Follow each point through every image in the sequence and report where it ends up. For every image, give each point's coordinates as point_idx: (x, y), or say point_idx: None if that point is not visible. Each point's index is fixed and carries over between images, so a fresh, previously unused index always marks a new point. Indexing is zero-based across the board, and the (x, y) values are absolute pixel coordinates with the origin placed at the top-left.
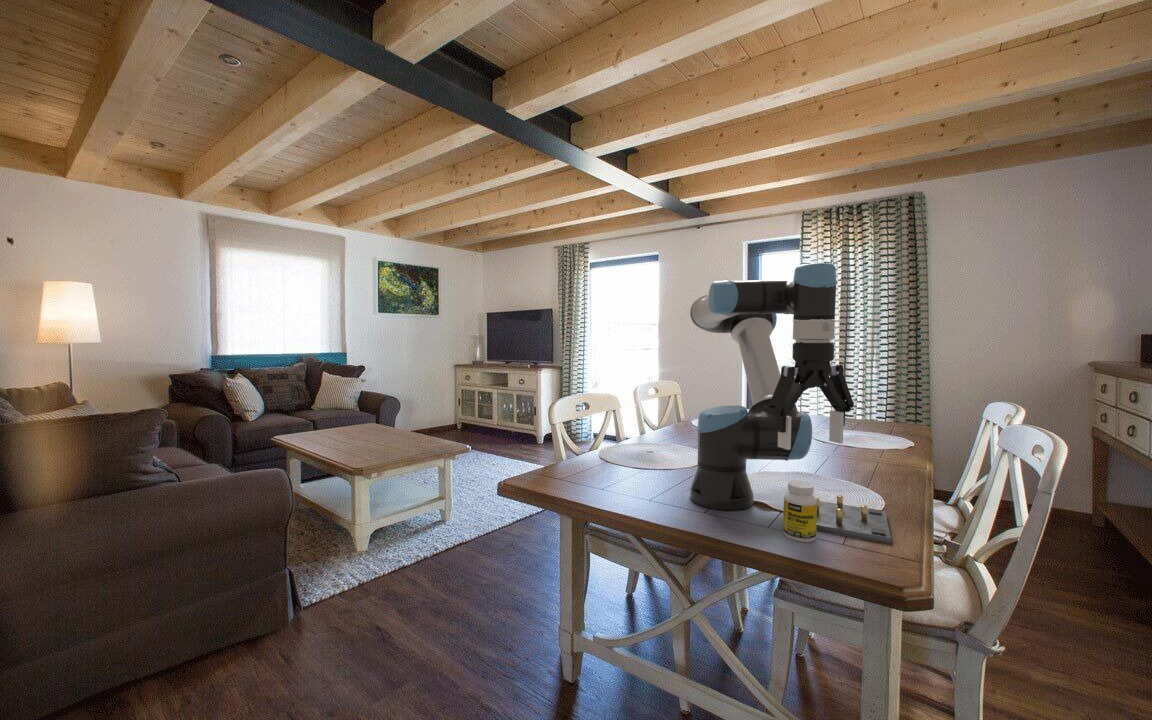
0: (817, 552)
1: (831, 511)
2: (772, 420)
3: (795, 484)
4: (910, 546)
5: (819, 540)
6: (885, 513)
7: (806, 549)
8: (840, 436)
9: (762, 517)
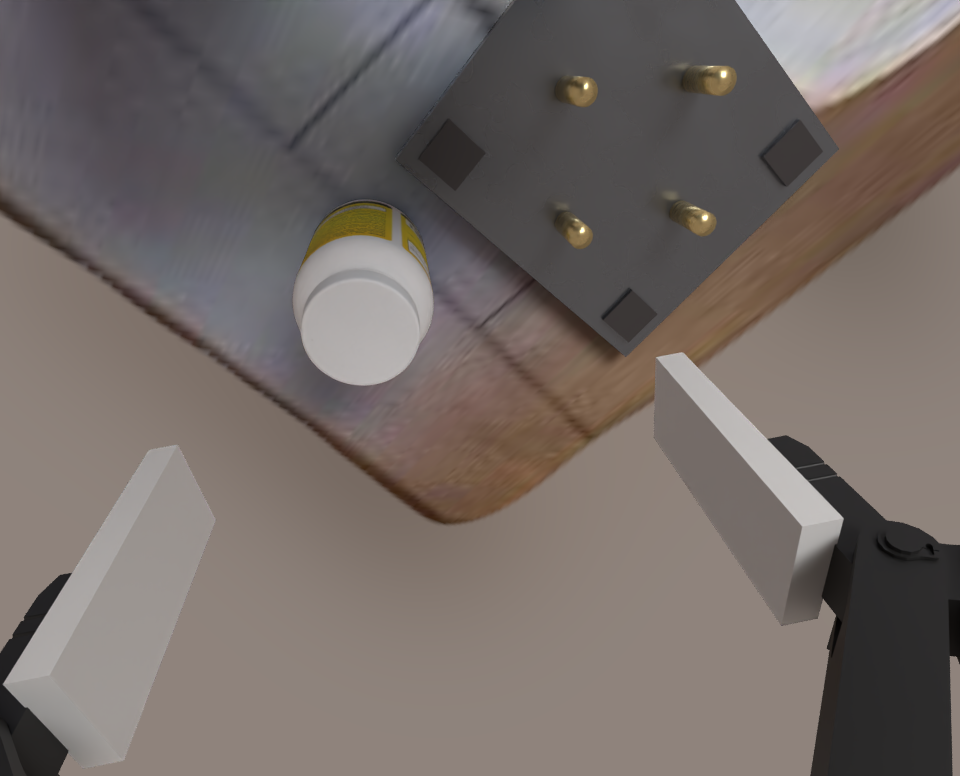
0: None
1: (634, 101)
2: None
3: (331, 334)
4: None
5: None
6: (812, 174)
7: None
8: (677, 467)
9: (315, 29)
